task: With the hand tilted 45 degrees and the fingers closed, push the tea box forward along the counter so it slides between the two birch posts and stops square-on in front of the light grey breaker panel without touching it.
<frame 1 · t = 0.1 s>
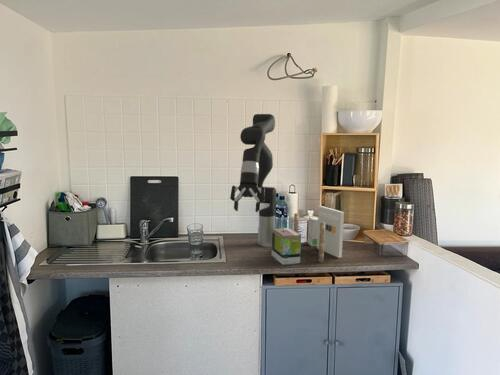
hand: (246, 211, 154), 31 cm above the worktop, tool tilted 20°, fingers open, 8 cm apart
right post: (321, 261, 186), on the worktop
skincare box: (315, 244, 215), on the worktop
tea box: (285, 259, 189), on the worktop
breaker panel: (328, 252, 201), on the worktop
left post: (295, 249, 205), on the worktop
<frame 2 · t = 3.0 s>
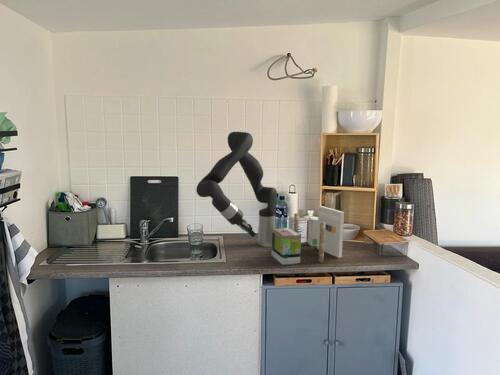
hand: (253, 235, 178), 15 cm above the worktop, tool tilted 45°, fingers closed
nothing on the worktop moved.
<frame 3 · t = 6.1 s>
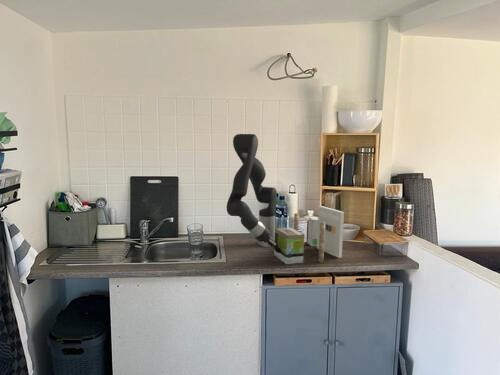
hand: (279, 251, 187), 5 cm above the worktop, tool tilted 45°, fingers closed
tea box: (288, 259, 190), on the worktop
everything else where it was.
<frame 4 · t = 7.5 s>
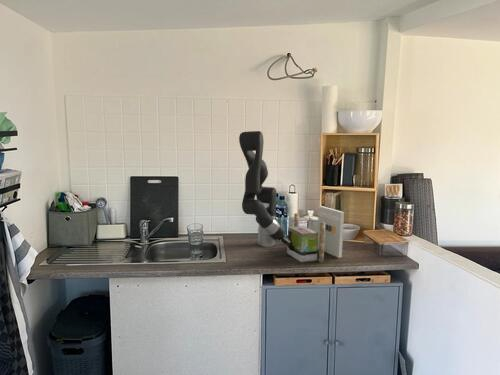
hand: (292, 249, 190), 5 cm above the worktop, tool tilted 45°, fingers closed
tea box: (301, 257, 193), on the worktop, touching gripper
everything else where it was.
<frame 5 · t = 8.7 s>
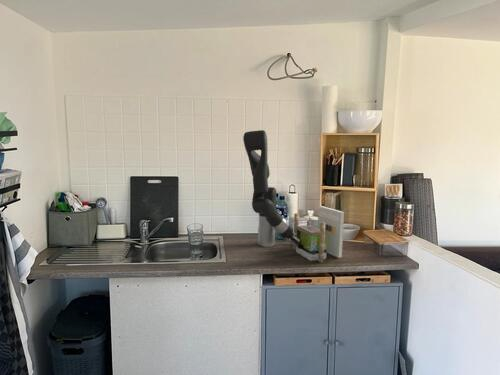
hand: (301, 247, 193), 5 cm above the worktop, tool tilted 45°, fingers closed
tea box: (310, 256, 196), on the worktop, touching gripper
everything else where it was.
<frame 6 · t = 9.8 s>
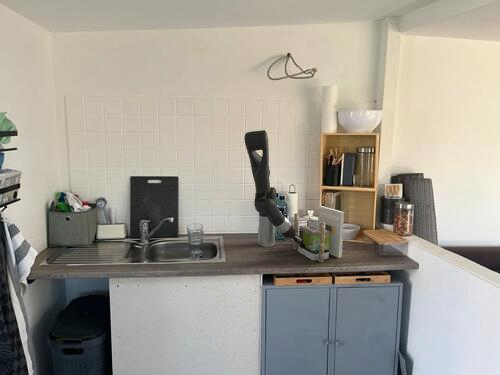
hand: (303, 247, 194), 5 cm above the worktop, tool tilted 45°, fingers closed
tea box: (313, 255, 196), on the worktop
everything else where it was.
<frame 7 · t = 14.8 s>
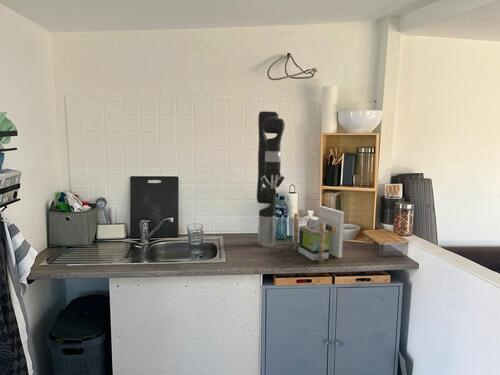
hand: (272, 195, 182), 33 cm above the worktop, tool pointing down, fingers closed
nothing on the worktop moved.
at the end: tea box inside the target area (1.2 cm from its centre), on the worktop; tea box tilted 0°; tea box touching worktop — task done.
